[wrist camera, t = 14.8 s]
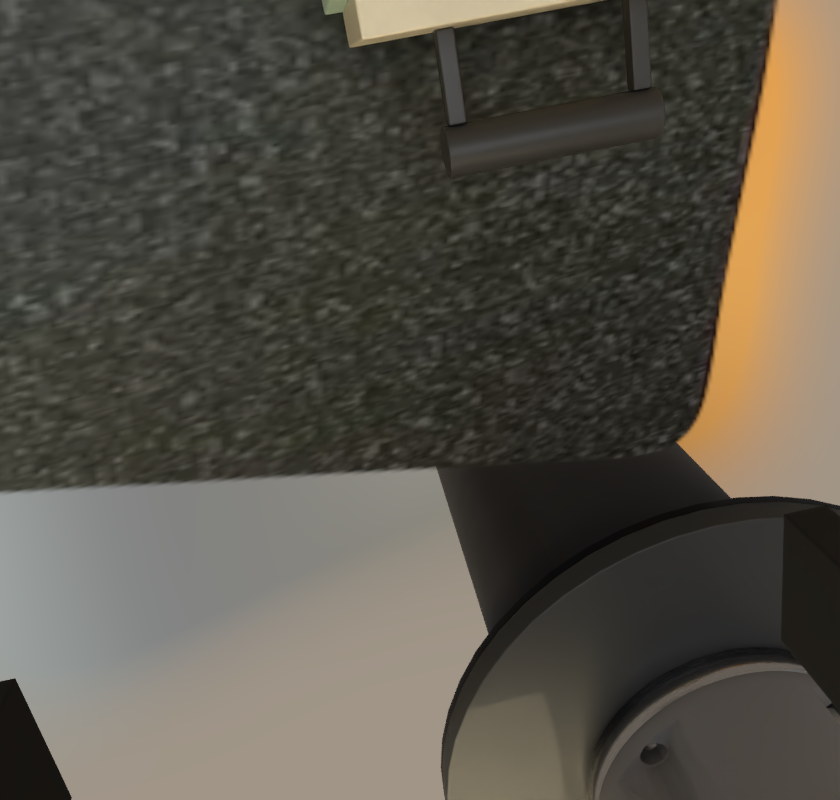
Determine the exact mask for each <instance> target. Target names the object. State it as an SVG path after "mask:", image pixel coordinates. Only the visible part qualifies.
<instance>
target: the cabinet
mask: <svg viewBox="0 0 840 800" xmlns="http://www.w3.org/2000/svg"><path fill="white" fill-rule="evenodd" d="M348 1H349V0H322V4H323V9H324V13H325V14H326V15H329V14H335V13H340V12H343V10H344V9H345V7H346V5H347V3H348Z"/></svg>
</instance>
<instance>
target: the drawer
mask: <svg viewBox="0 0 840 800" xmlns="http://www.w3.org/2000/svg"><path fill="white" fill-rule="evenodd" d="M599 1H605V0H349V1H348V3H347V5H346V7H345V9H344V10H343V17H344V23H345V28H346V33H347V38H348V44H349V47H351V48H352V47H358V46H363V45H368V44H374V43H379V42H385V41H390V40H395V39H401V38H406V37H411V36H417V35H422V34H428V33H433V38H434V45H435V52H436V58H437V65H438V72H439V78H440V85H441V92H442V98H443V105H444V112H445V118H446V124H447V125H449V126H445V127H442V128H441V133H440V136H441V147H442V154H443V159H444V164H445V168H446V171H447V174H448V176H449V177H450V178H456V177H461V176H466V175H471V174H476V173H481V172H486V171H492V170H497V169H502V168H507V167H512V166H517V165H522V164H527V163H533V162H538V161H543V160H548V159H553V158H558V157H563V156H568V155H573V154H579V153H584V152H589V151H594V150H599V149H604V148H609V147H614V146H620V145H625V144H630V143H635V142H640V141H645V140H650V139H655V138H658V137H660V136H661V135H662V133H663V130H664V127H665V106H664V101H663V98H662V95H661V93H660V91H659V90H658V89H657V88H656V87H651V86H652V83H651V64H650V44H649V25H648V6H647V0H622V4H623V20H624V36H625V52H626V68H627V84H628V90H631V91H627V92H622V93H617V94H612V95H606V96H601V97H596V98H591V99H586V100H580V101H575V102H570V103H565V104H560V105H554V106H549V107H544V108H539V109H534V110H528V111H523V112H518V113H513V114H508V115H502V116H497V117H492V118H487V119H482V120H476V121H471V122H467V116H466V109H465V102H464V95H463V88H462V81H461V73H460V66H459V59H458V52H457V45H456V38H455V30H454V28H460V27H465V26H470V25H476V24H481V23H487V22H492V21H497V20H503V19H508V18H513V17H519V16H524V15H530V14H535V13H540V12H546V11H551V10H556V9H562V8H567V7H572V6H578V5H583V4H589V3H594V2H599Z"/></svg>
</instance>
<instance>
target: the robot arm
mask: <svg viewBox="0 0 840 800" xmlns="http://www.w3.org/2000/svg"><path fill="white" fill-rule="evenodd" d="M781 641H782V642H783V643H784V644H785V646H786V647H787V648H788V649H789V650H785V649H778V648H766V647H755V648H741V649H733V650H728V651H722V652H718V653H714V654H711V655H707V656H704V657H701V658H698V659H695V660H693V661H690V662H688V663H686V664H683V665H681V666H679V667H677V668H675V669H673V670H671V671H669V672H667V673H665V674H664V675H662V676H661V677H659V678H657V679H656V680H654V681H652V682H651V683H650V684H648V685H647V686H646V687H644V688H643V689H642V690H640V691H639V692H638V693H637V694H636V695H634V696H633V697H632V698H631V699H630V700H629V701H628V702H627V703H626V704H625V705H624V706H623V707H622V708H621V709H620V710H619V711H618V712H617V713H616V715H615V716H614V717H613V718H612V719H611V721H610V722H609V724H608V725H607V727H606V728H605V729H604V731H603V733H602V734H601V736H600V738H599V740H598V742H597V744H596V746H595V748H594V751H593V753H592V756H591V759H590V763H589V768H588V773H587V795H588V800H840V516H839V515H838V514H836V513H835V512H834V511H833V510H832V509H831V508H829V507H828V506H827V505H825V506H820V507H815V508H810V509H806V510H801V511H796V512H792V513H787V514H784V533H783V574H782V616H781ZM71 798H72V797H71V795H70V793H69V791H68V789H67V787H66V785H65V783H64V780H63V778H62V777H61V774H60V772H59V770H58V768H57V766H56V764H55V761H54V759H53V757H52V755H51V753H50V751H49V749H48V747H47V745H46V742H45V740H44V738H43V736H42V734H41V732H40V730H39V728H38V726H37V723H36V722H35V719H34V717H33V715H32V713H31V711H30V709H29V707H28V704H27V702H26V700H25V698H24V696H23V694H22V692H21V690H20V688H19V686H18V683H17V682H16V679H10V680H6V681H2V682H0V800H71Z"/></svg>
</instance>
